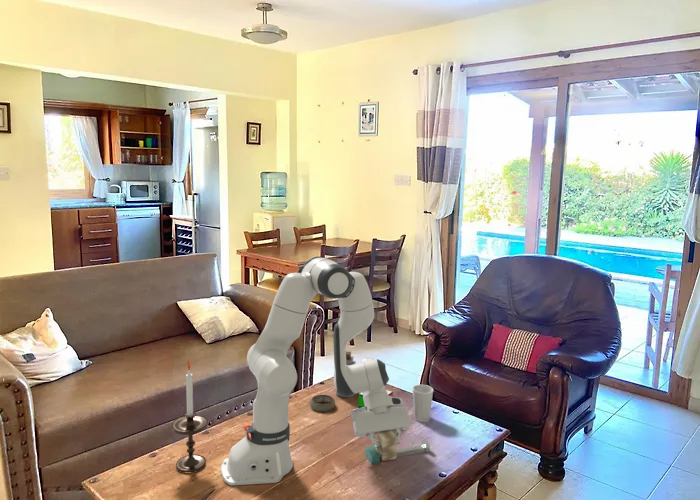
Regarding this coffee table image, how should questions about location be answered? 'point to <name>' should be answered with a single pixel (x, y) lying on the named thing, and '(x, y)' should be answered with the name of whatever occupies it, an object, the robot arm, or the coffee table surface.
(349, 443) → the coffee table surface
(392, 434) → the beige slider block
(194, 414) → the candlestick
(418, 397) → the cup
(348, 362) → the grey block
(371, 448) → the rail
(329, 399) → the decorative ring
